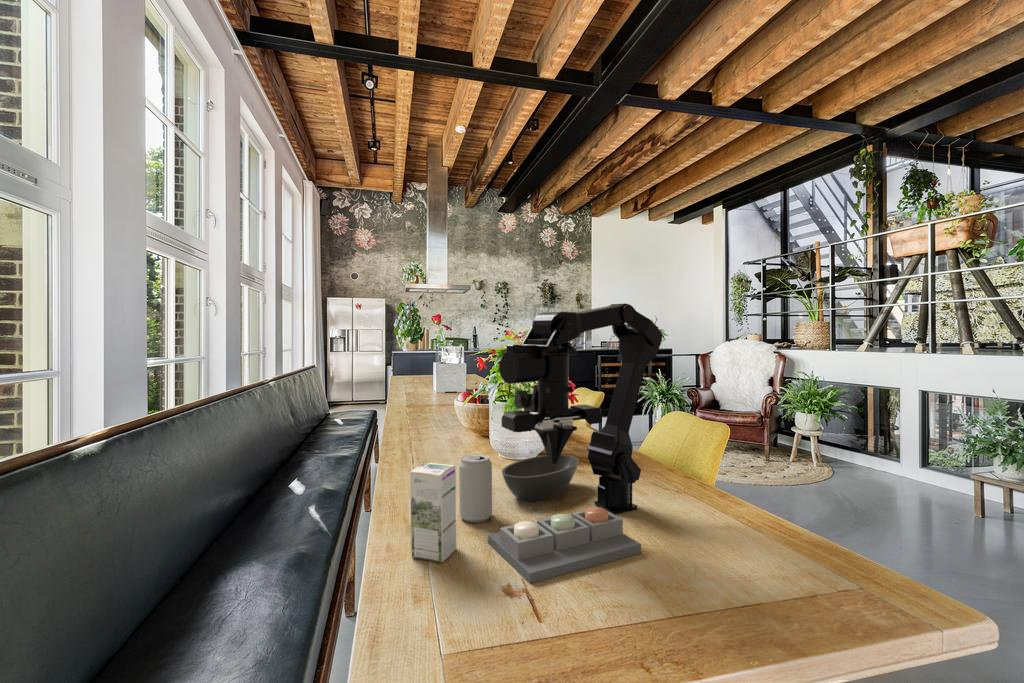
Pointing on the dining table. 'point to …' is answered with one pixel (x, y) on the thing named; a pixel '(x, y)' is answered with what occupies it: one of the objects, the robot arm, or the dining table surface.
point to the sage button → (562, 522)
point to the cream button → (526, 530)
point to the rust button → (596, 514)
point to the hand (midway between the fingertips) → (553, 463)
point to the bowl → (539, 477)
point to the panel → (564, 547)
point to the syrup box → (433, 511)
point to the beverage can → (475, 487)
